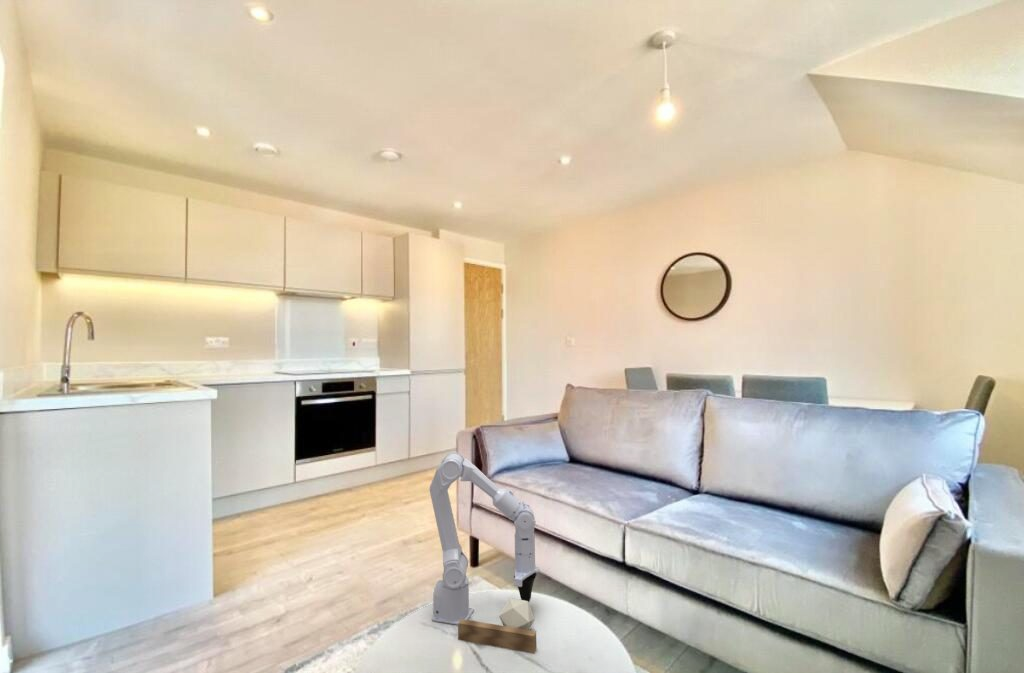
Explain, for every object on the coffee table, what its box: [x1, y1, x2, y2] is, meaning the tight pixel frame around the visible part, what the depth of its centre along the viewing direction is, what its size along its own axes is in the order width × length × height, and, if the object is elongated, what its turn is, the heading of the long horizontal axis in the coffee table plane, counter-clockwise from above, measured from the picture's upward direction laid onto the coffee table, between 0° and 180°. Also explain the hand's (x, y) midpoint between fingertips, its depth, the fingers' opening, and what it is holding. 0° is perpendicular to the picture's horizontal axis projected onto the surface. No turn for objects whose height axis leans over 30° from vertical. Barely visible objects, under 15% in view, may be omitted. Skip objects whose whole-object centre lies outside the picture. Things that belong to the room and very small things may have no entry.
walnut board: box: [457, 619, 537, 654], centre depth 108 cm, size 20×2×4 cm, turn 73°
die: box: [498, 597, 536, 630], centre depth 113 cm, size 8×9×10 cm
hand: (525, 601), depth 121 cm, fingers closed
